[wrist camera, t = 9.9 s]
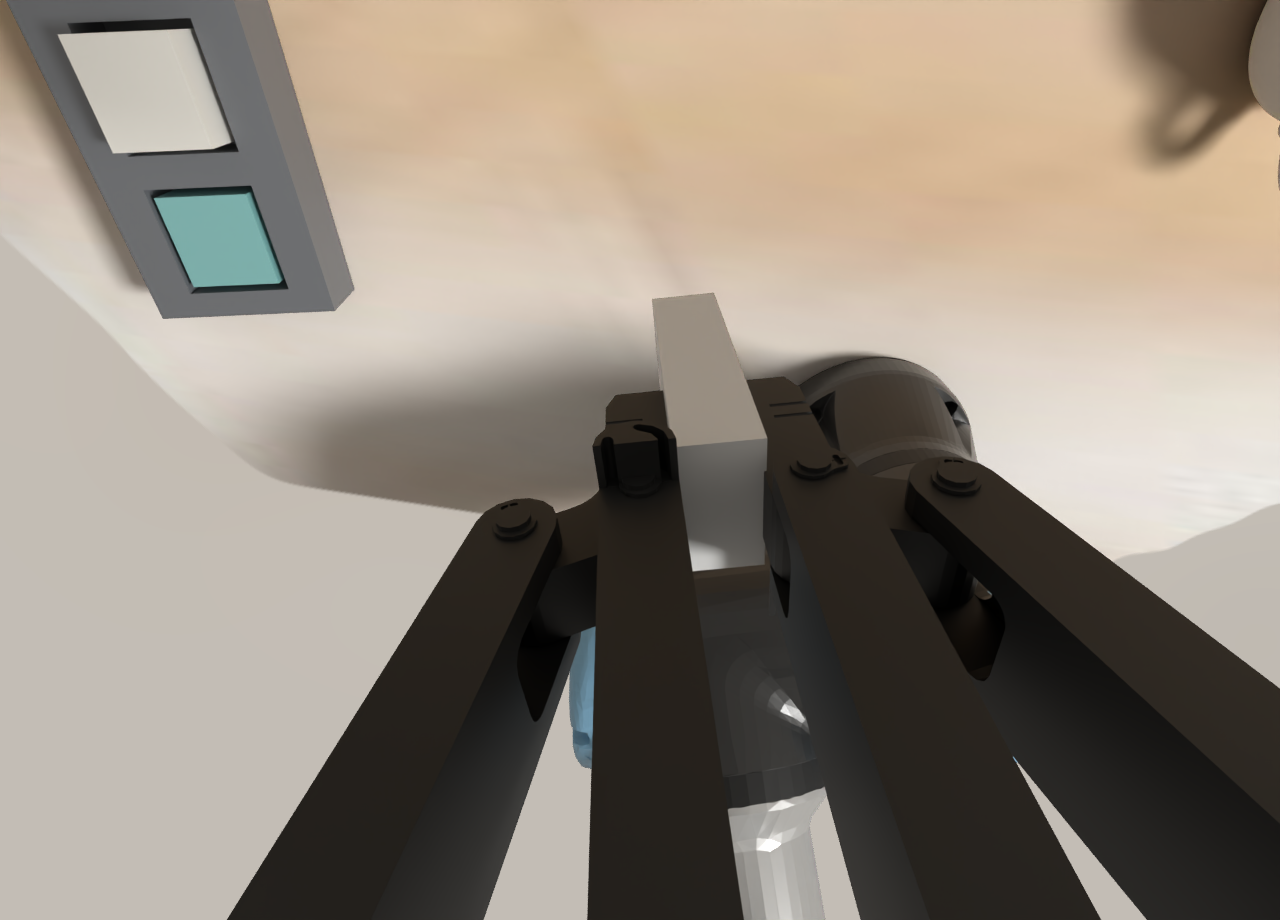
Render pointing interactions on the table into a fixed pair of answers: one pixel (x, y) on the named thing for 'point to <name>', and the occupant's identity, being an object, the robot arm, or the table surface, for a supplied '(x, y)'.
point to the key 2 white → (149, 89)
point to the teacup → (1267, 62)
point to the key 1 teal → (220, 236)
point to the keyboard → (205, 152)
